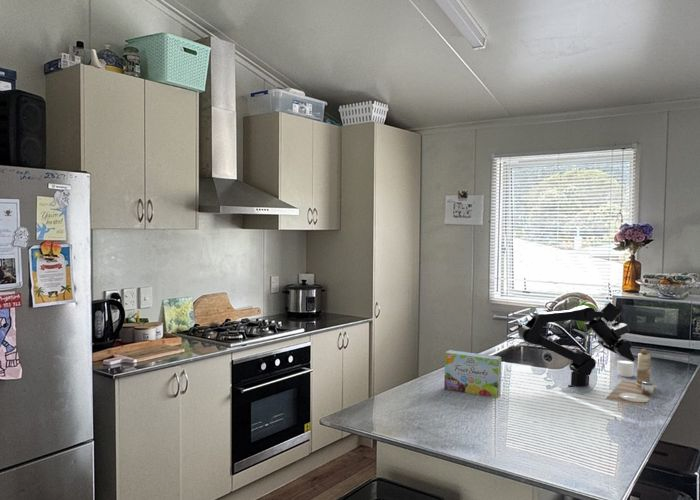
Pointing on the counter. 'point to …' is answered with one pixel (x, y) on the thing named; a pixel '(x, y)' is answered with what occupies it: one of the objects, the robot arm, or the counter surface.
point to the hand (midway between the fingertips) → (628, 357)
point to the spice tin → (647, 387)
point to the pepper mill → (643, 367)
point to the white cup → (625, 368)
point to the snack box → (472, 373)
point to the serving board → (627, 388)
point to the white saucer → (633, 397)
